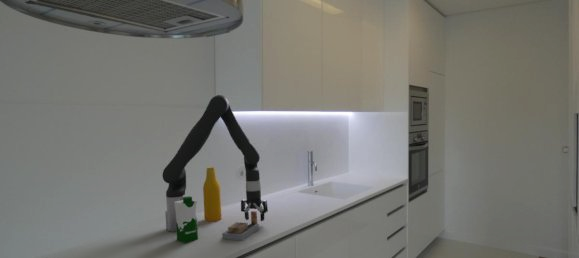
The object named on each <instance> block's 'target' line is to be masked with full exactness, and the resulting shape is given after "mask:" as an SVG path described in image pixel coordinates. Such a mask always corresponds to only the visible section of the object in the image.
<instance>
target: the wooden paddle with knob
mask: <svg viewBox="0 0 579 258" xmlns="http://www.w3.org/2000/svg"><path fill="white" fill-rule="evenodd" d="M257 211H258V210H257ZM257 211H256V210H253V211H250V218H251V219H250V223H249V224H248V223H247V222H237V221H236V222H235V223H233V224H231V225H229V226H228V228H227V230H228V233H234V234H242V233H244V232H245V231H247V230H248V229H250V228H251V227H252V226H254V225H255V224H258V212H257Z"/></svg>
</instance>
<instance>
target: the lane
mask: <svg viewBox="0 0 579 258" xmlns="http://www.w3.org/2000/svg"><path fill="white" fill-rule="evenodd" d="M259 229H260V224H259V223H257V224H255V225H252V226H250V227H249V228H248V230H247V231H245V232H244V233H242V234H234V233H228V229H227V230H225V231H224V232H223V233H221V236H222V239H223V240H232V241H244V240H246V239H247V238H248V237H250V236H251V235H253V234H254V233H255V232H257V231H258V230H259ZM256 230H257V231H256ZM252 233H253V234H252Z"/></svg>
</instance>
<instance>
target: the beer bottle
mask: <svg viewBox="0 0 579 258" xmlns="http://www.w3.org/2000/svg"><path fill="white" fill-rule="evenodd" d="M205 174H206V177H205V180H204V183H203V186H202V187H203V188H202V189H203V190H202V191H203V212H204V221H205V222H208V223H214V222H218V221H221V220H222V199H221V198H222V197H221V185H220V183H219V181H218V179H217V175H216V168H215V166H209V167H206V173H205Z"/></svg>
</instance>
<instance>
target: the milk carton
mask: <svg viewBox="0 0 579 258" xmlns="http://www.w3.org/2000/svg"><path fill="white" fill-rule="evenodd" d="M197 202H198V201H197V200H194V199H193V196H185V197H184V198H183V200H181V201H176V202H174V204H175V211H176V228H177V231H176V241H178V242H181V243H183V244H186V243H189V242H193V241H197V240H198V239H199V236H198V219H197V216H198V215H197V207H198V206H197V205H198V203H197Z"/></svg>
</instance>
